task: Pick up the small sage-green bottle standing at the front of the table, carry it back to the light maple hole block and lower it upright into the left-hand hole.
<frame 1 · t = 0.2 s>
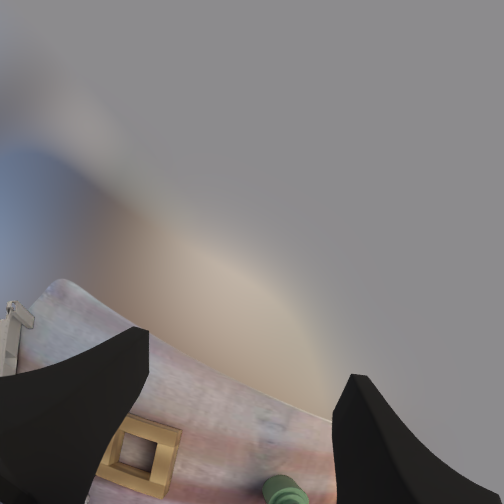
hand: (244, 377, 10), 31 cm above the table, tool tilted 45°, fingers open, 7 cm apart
hole block: (115, 441, 33), on the table
bottle: (279, 489, 32), on the table
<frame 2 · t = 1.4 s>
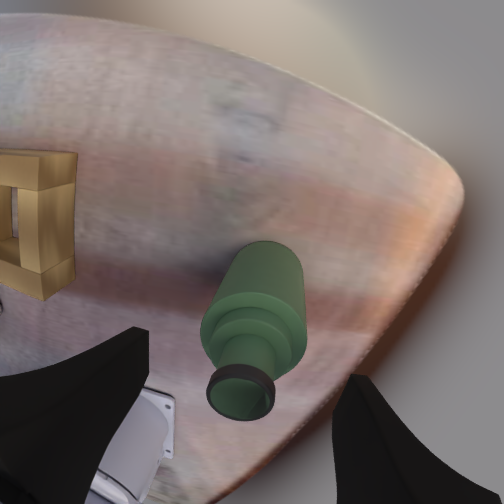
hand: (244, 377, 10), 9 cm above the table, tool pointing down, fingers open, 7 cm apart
hole block: (4, 204, 20), on the table
bottle: (266, 276, 19), on the table
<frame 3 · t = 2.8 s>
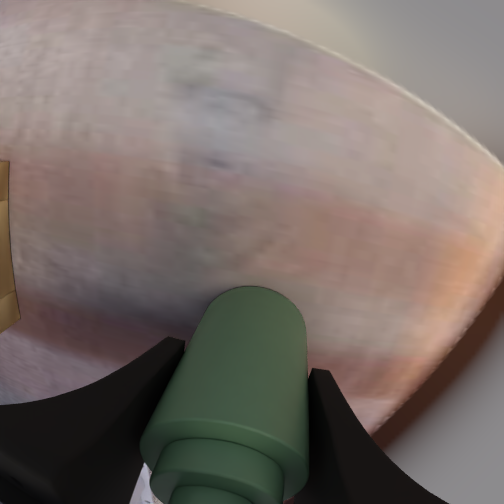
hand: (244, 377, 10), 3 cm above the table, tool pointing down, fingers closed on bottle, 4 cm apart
bottle: (253, 333, 13), on the table, touching gripper
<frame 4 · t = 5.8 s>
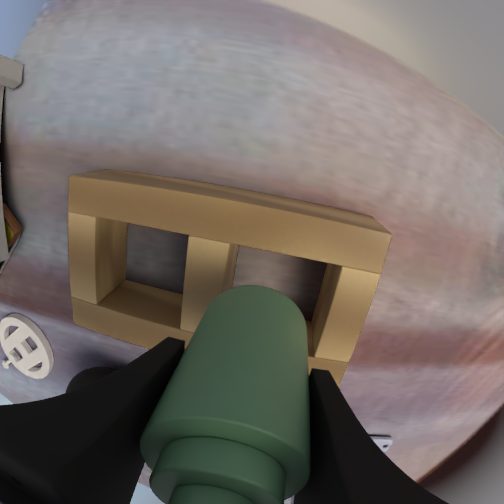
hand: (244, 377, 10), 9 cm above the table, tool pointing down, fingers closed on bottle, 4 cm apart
pendant: (16, 354, 24), point 1 cm above the table
hole block: (219, 262, 19), on the table
light bulb: (128, 377, 24), on the table
bottle: (253, 332, 13), point 7 cm above the table, touching gripper
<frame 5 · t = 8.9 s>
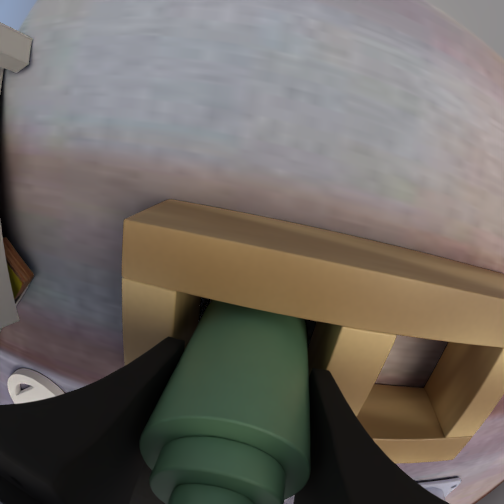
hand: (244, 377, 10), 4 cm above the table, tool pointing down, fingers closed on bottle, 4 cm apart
pendant: (32, 412, 19), point 1 cm above the table
hole block: (334, 333, 14), on the table
light bulb: (184, 448, 19), on the table
bottle: (253, 331, 13), point 1 cm above the table, touching gripper
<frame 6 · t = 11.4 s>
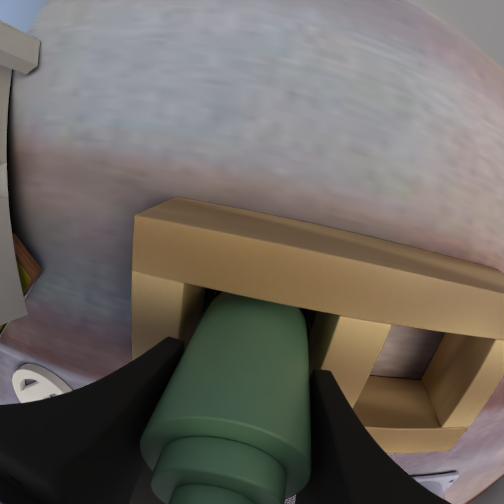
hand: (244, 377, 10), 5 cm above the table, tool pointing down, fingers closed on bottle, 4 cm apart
pendant: (36, 407, 20), point 1 cm above the table
hole block: (333, 325, 15), on the table
light bulb: (187, 441, 19), on the table
bottle: (254, 331, 13), point 2 cm above the table, touching gripper
when the fingers open (5 cm above the table, at t = 13.5 s): bottle drops 2 cm, resting in hole block.
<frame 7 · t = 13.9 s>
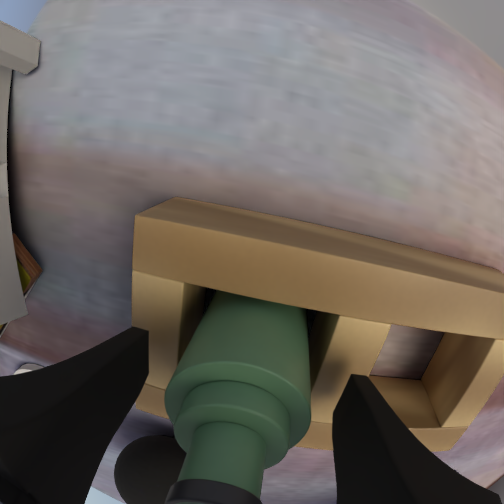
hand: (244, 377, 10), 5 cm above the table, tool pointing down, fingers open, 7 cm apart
hole block: (333, 325, 15), on the table
light bulb: (187, 441, 19), on the table
bottle: (259, 309, 15), resting in hole block
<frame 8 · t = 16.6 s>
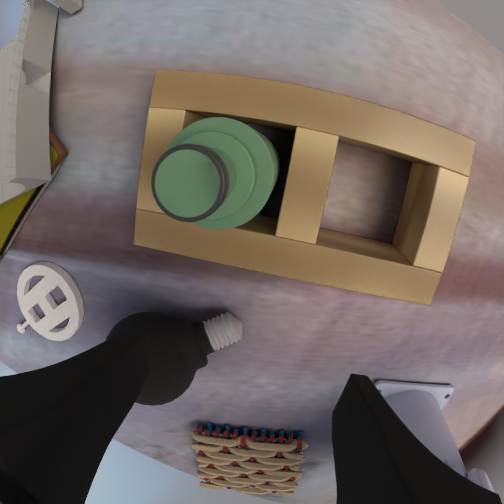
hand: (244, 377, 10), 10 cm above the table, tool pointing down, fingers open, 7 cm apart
pendant: (37, 311, 23), point 1 cm above the table
harmonica: (3, 208, 19), point 2 cm above the table, touching skate ramp
woven mat: (247, 475, 24), point 2 cm above the table
hole block: (303, 178, 18), on the table
skate ramp: (18, 103, 17), point 1 cm above the table, touching harmonica
light bulb: (178, 327, 23), on the table
bottle: (242, 165, 18), resting in hole block
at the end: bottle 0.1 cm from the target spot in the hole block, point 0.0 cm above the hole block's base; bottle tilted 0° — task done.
